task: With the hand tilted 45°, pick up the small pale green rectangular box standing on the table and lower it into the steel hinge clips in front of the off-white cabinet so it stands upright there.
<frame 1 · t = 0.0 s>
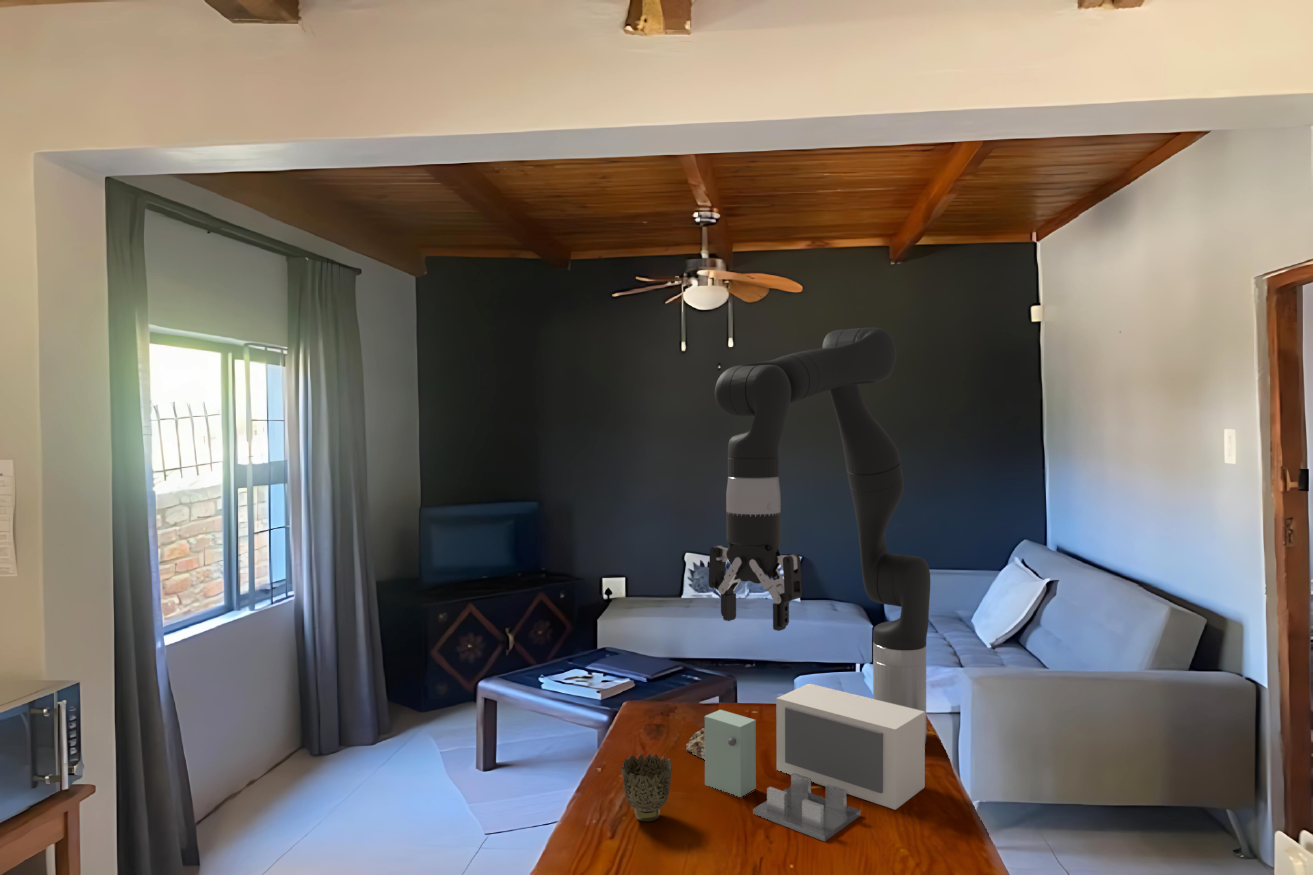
hand: (753, 624, 117), 29 cm above the table, tool pointing down, fingers open, 8 cm apart
hinge bracket: (806, 814, 122), on the table
cup: (647, 819, 122), on the table
pale green rectangular box: (730, 787, 132), on the table
mineral rock: (710, 754, 146), on the table
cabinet: (848, 778, 135), on the table
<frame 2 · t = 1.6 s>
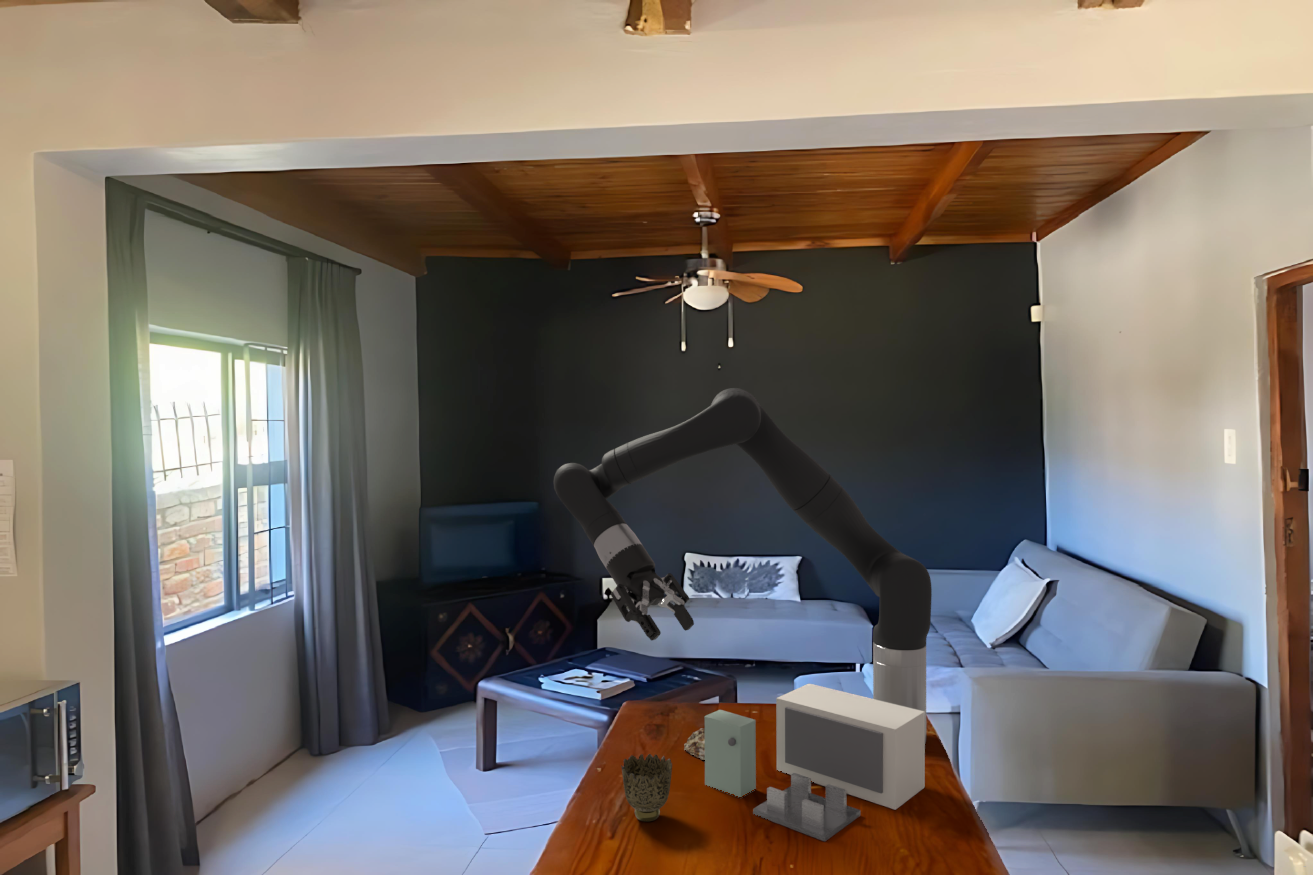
hand: (673, 632, 139), 23 cm above the table, tool tilted 45°, fingers open, 8 cm apart
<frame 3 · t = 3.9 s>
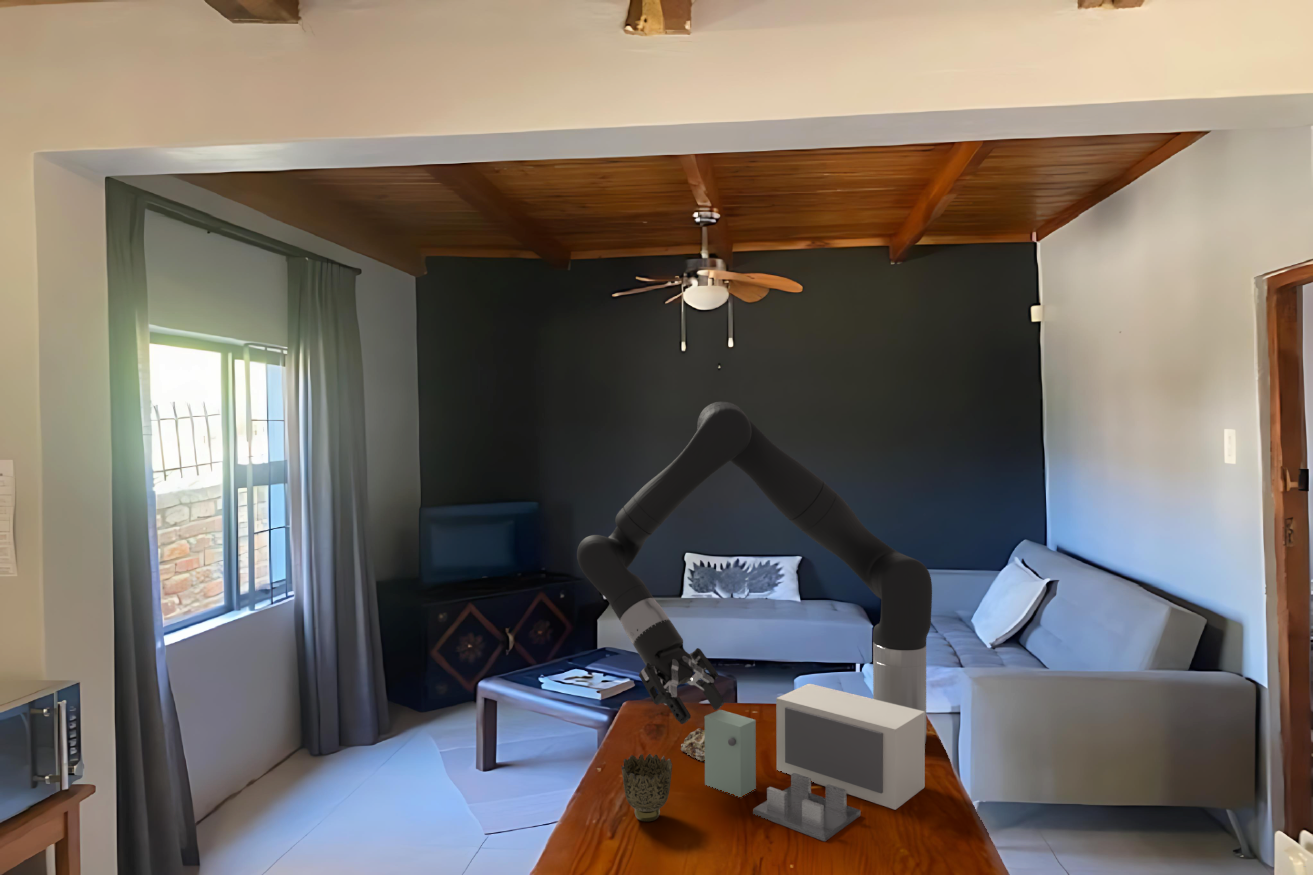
hand: (703, 714, 135), 10 cm above the table, tool tilted 45°, fingers open, 8 cm apart
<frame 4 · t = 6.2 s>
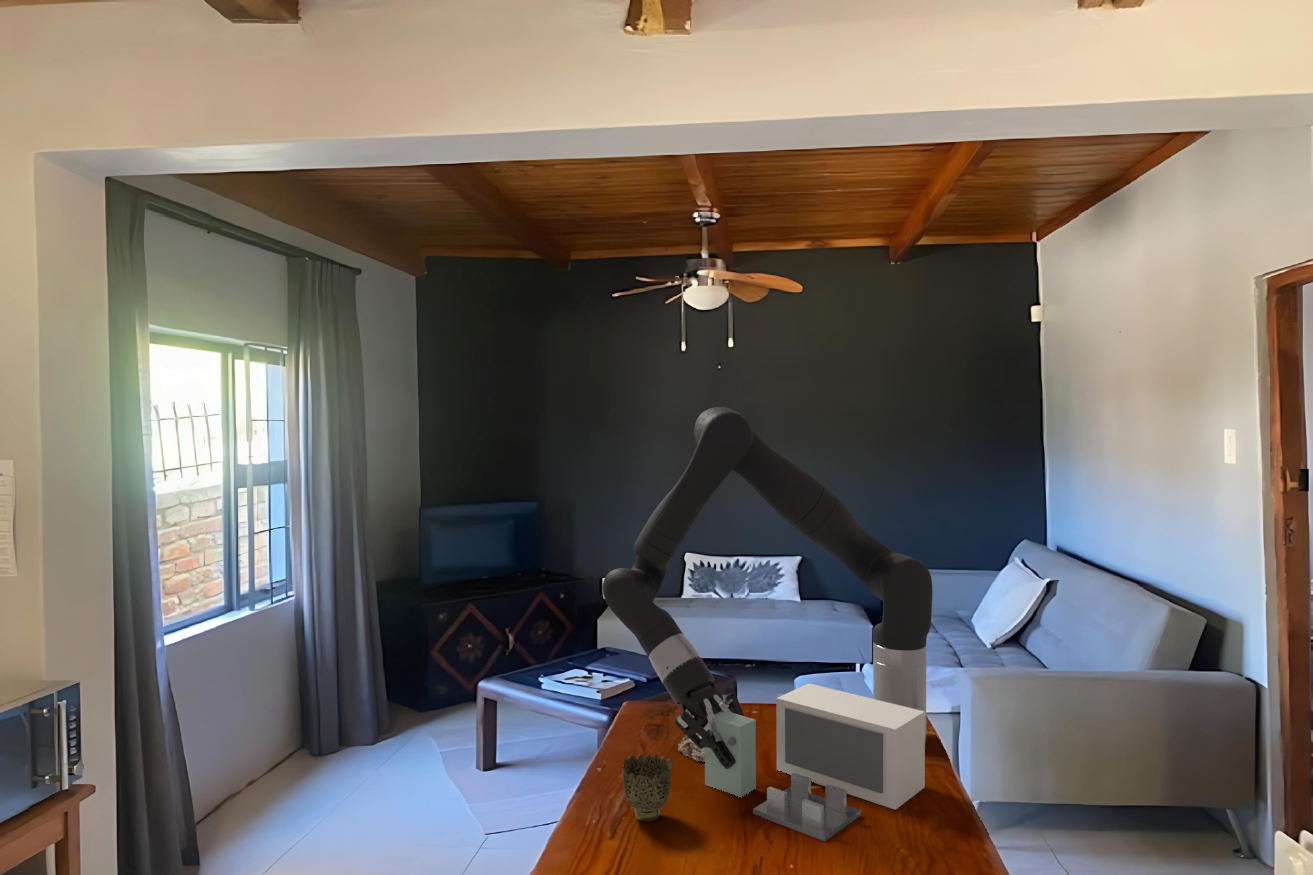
hand: (740, 760, 130), 5 cm above the table, tool tilted 45°, fingers closed on pale green rectangular box, 4 cm apart
pale green rectangular box: (730, 787, 132), on the table, touching gripper
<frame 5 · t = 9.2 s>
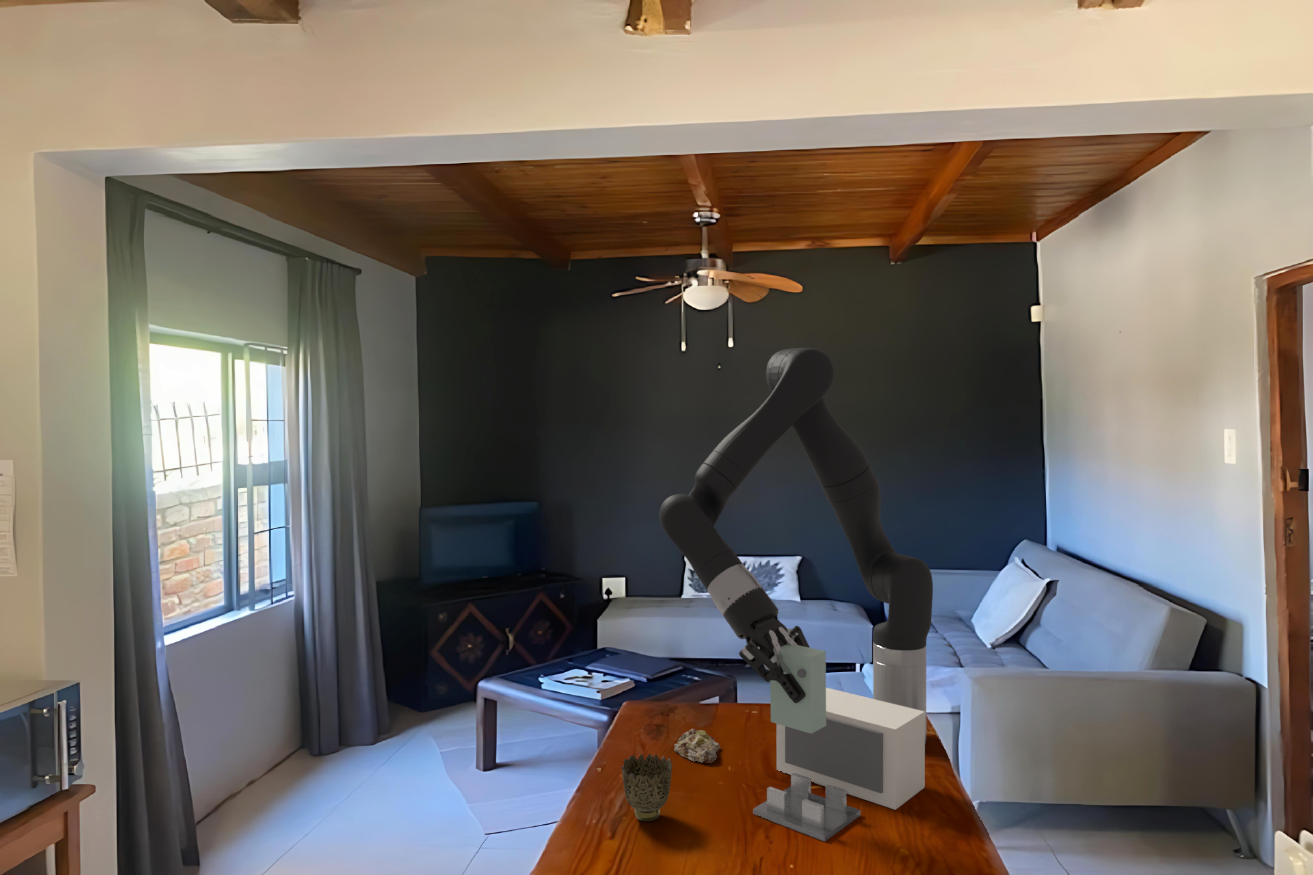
hand: (809, 695, 122), 18 cm above the table, tool tilted 45°, fingers closed on pale green rectangular box, 4 cm apart
pale green rectangular box: (798, 723, 123), point 13 cm above the table, touching gripper
when the fingers open (6 cm above the table, at t = 12.5 s): pale green rectangular box stays where it is, resting on hinge bracket.
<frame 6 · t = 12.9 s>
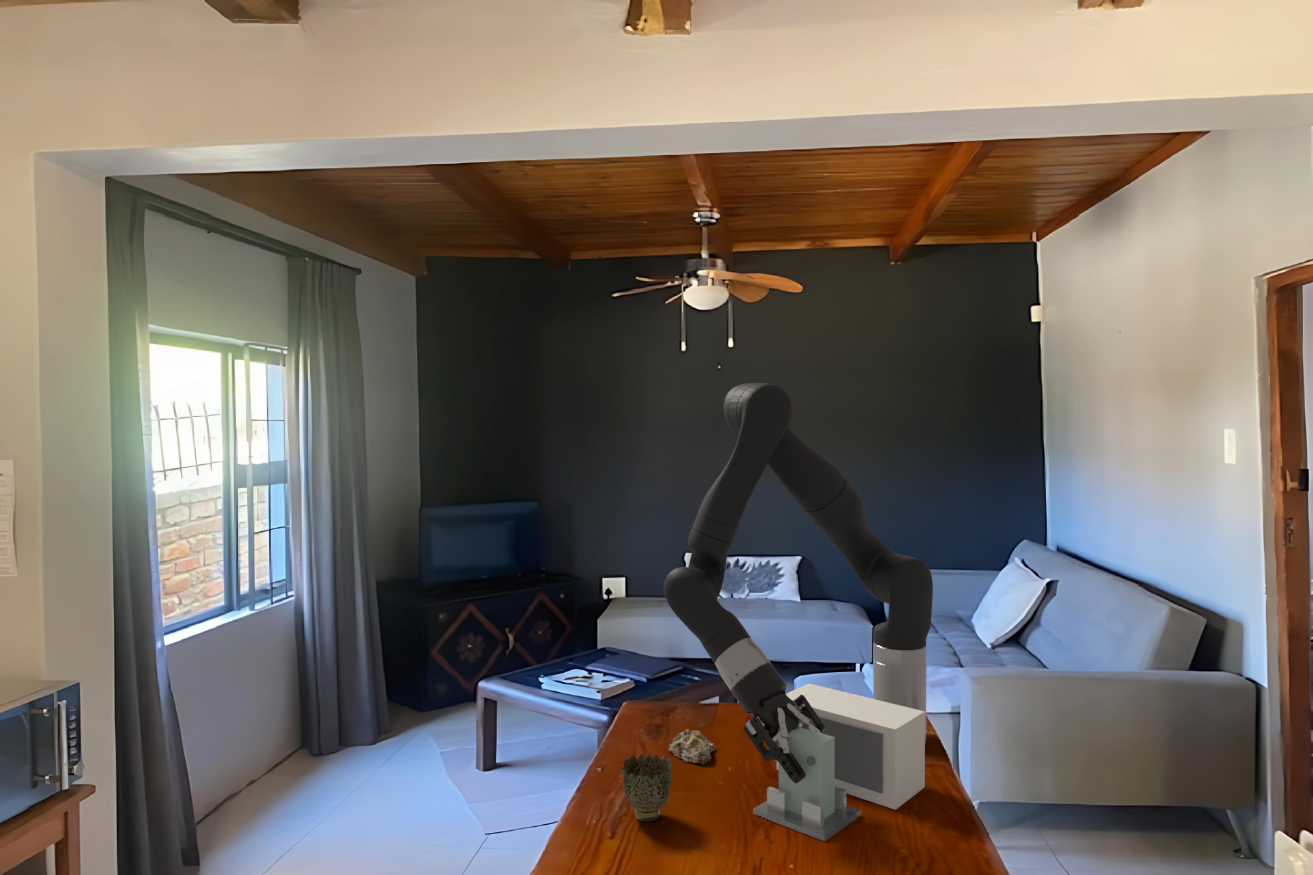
hand: (815, 771, 121), 7 cm above the table, tool tilted 45°, fingers open, 7 cm apart
pale green rectangular box: (806, 809, 122), point 1 cm above the table, touching hinge bracket
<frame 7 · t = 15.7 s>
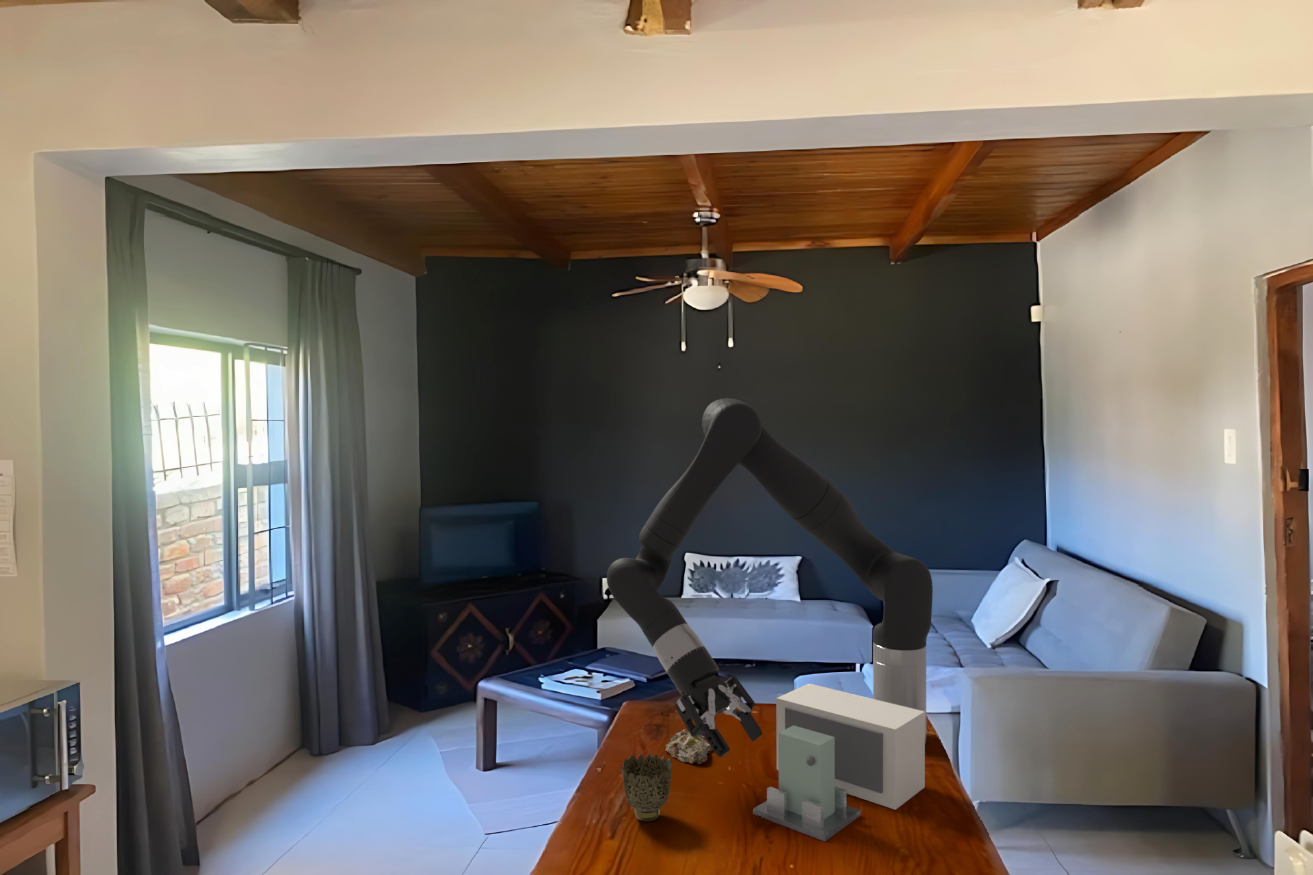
hand: (742, 745, 130), 7 cm above the table, tool tilted 45°, fingers open, 8 cm apart
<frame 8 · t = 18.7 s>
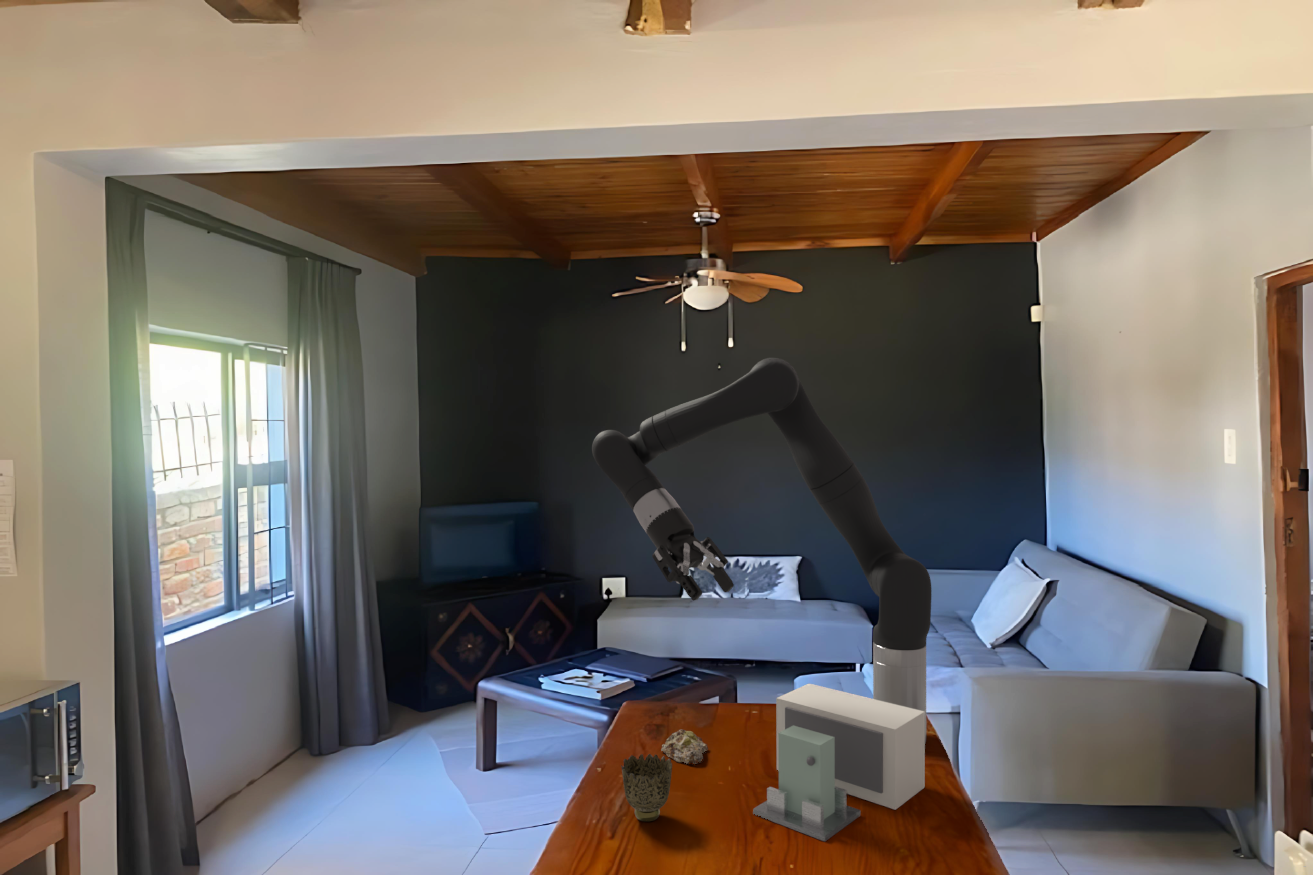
hand: (714, 593, 141), 29 cm above the table, tool tilted 45°, fingers open, 8 cm apart
at the end: pale green rectangular box 0.0 cm off-centre on the hinge bracket, point 0.8 cm above the hinge bracket's base; pale green rectangular box tilted 0°; the gripper is holding nothing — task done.
